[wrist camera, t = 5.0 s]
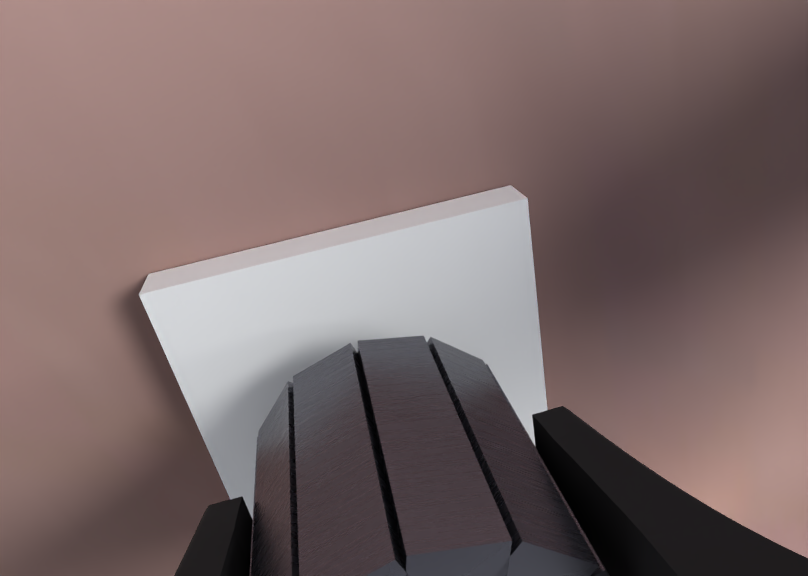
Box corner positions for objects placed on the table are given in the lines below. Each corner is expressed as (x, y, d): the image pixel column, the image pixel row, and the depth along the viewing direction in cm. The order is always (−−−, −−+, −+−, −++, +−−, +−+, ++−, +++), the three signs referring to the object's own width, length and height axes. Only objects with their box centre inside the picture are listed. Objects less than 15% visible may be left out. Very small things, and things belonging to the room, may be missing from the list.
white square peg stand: (510, 185, 13) (628, 277, 9) (539, 453, 17) (633, 615, 12) (149, 273, 12) (77, 422, 8) (260, 534, 16) (253, 735, 12)
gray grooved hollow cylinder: (522, 327, 12) (665, 518, 8) (499, 523, 14) (597, 758, 10) (247, 348, 11) (226, 581, 7) (269, 555, 13) (264, 829, 9)
